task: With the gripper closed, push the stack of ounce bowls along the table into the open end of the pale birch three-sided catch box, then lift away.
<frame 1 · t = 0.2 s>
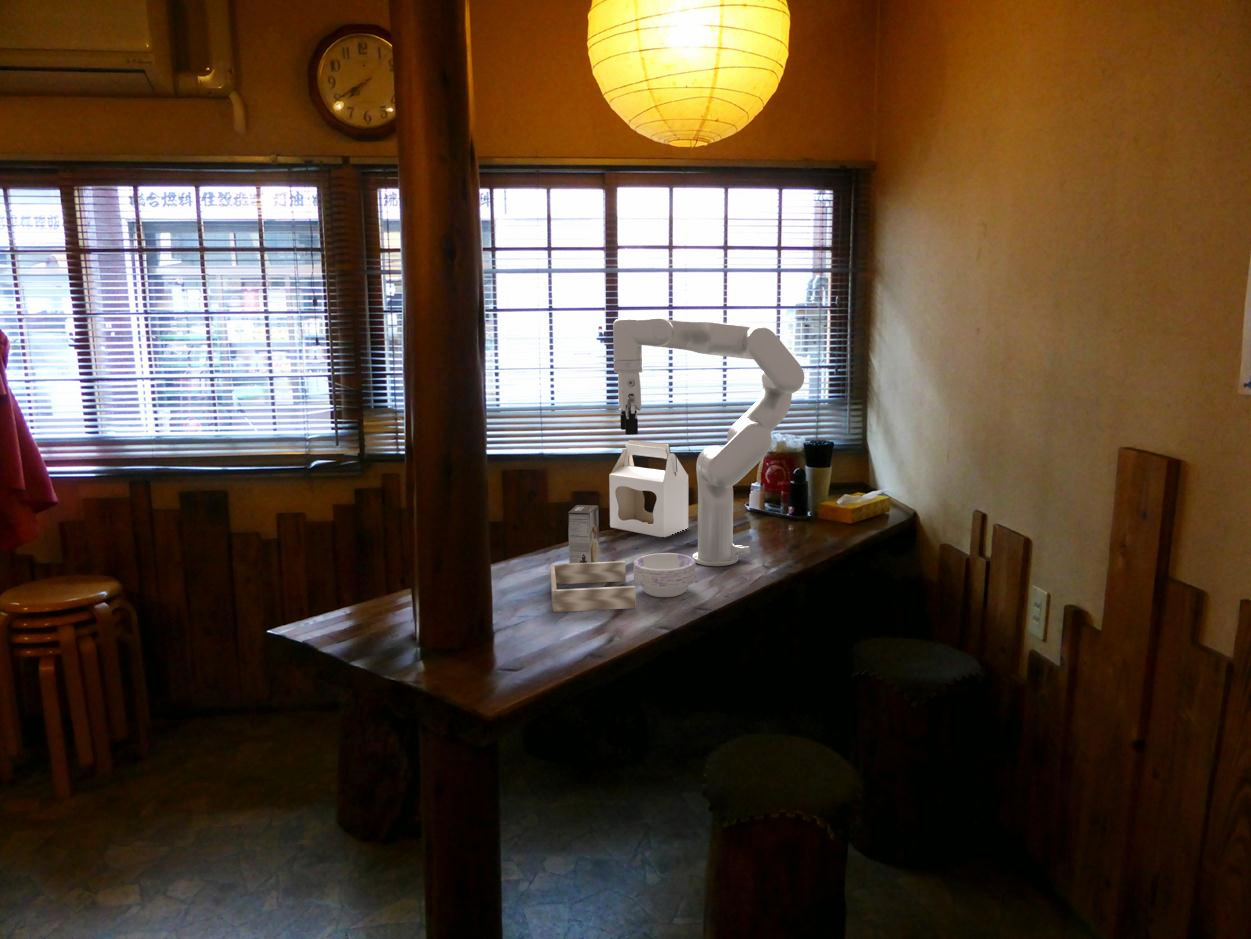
hand: (629, 431, 213), 36 cm above the table, tool pointing down, fingers open, 9 cm apart
catch box: (593, 595, 195), on the table
coffee box: (584, 566, 219), on the table
paper bowls: (664, 592, 197), on the table
gable box: (648, 529, 258), on the table
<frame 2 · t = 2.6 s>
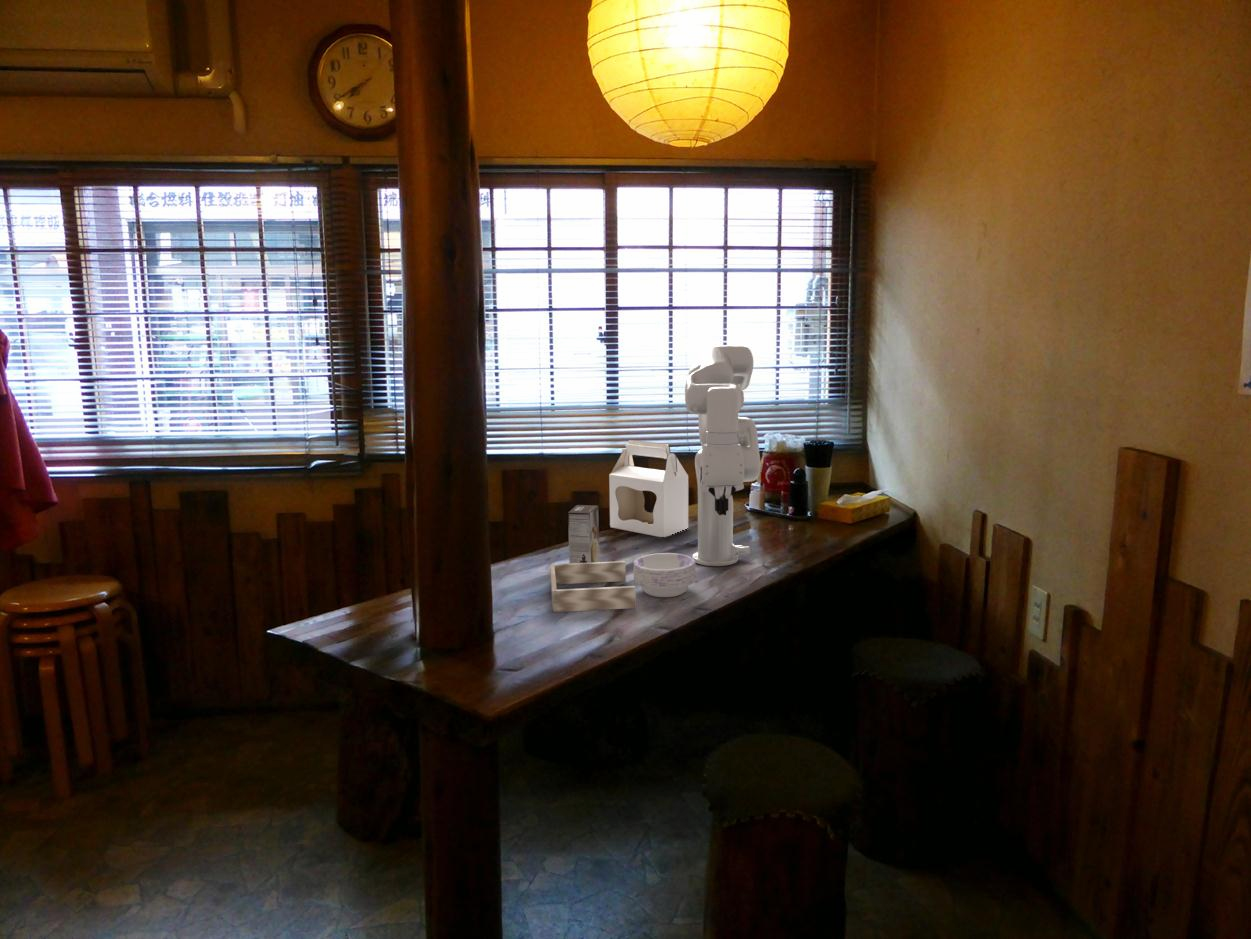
hand: (721, 513, 195), 19 cm above the table, tool pointing down, fingers closed
nothing on the table moved.
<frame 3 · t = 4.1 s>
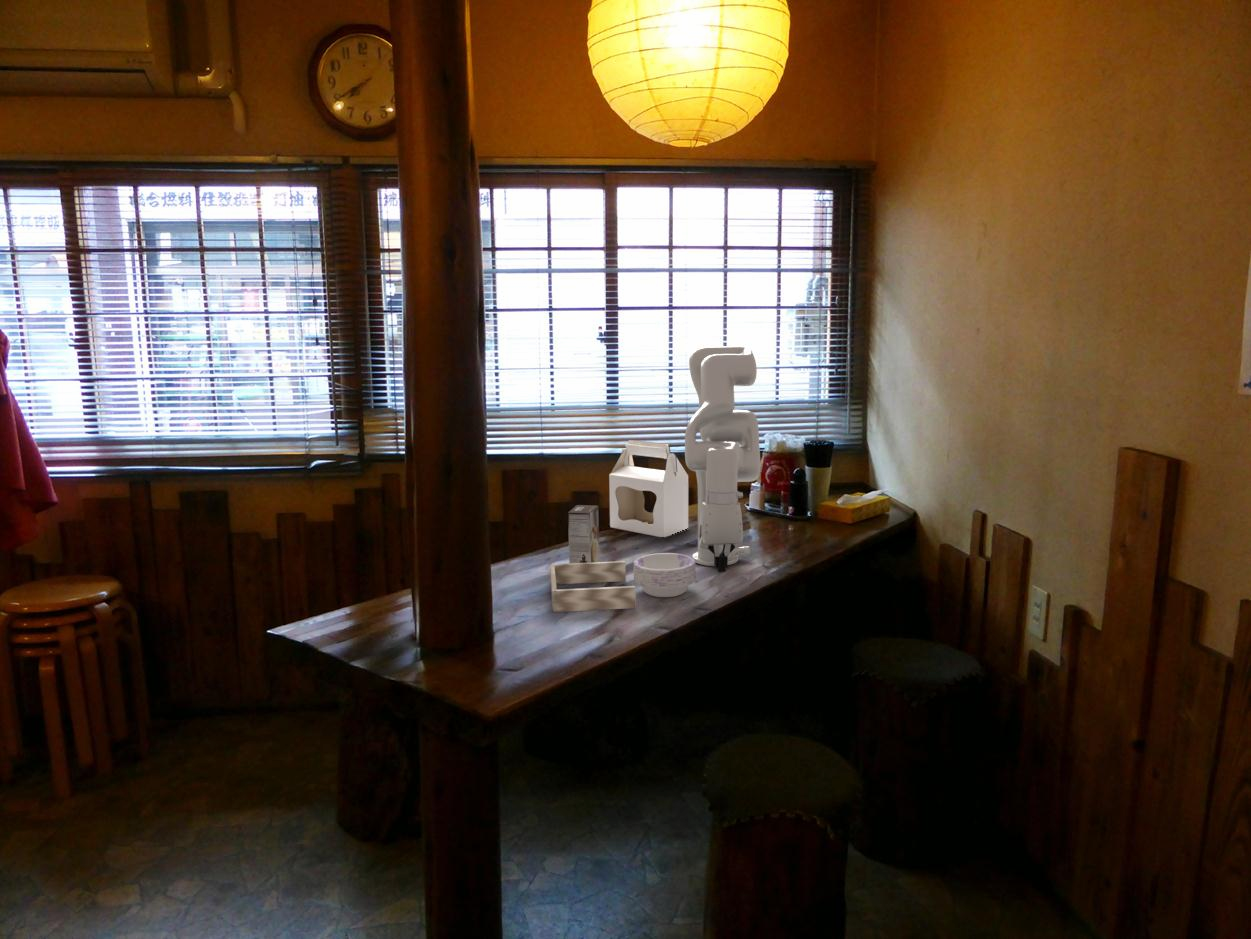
hand: (720, 570, 198), 5 cm above the table, tool pointing down, fingers closed
nothing on the table moved.
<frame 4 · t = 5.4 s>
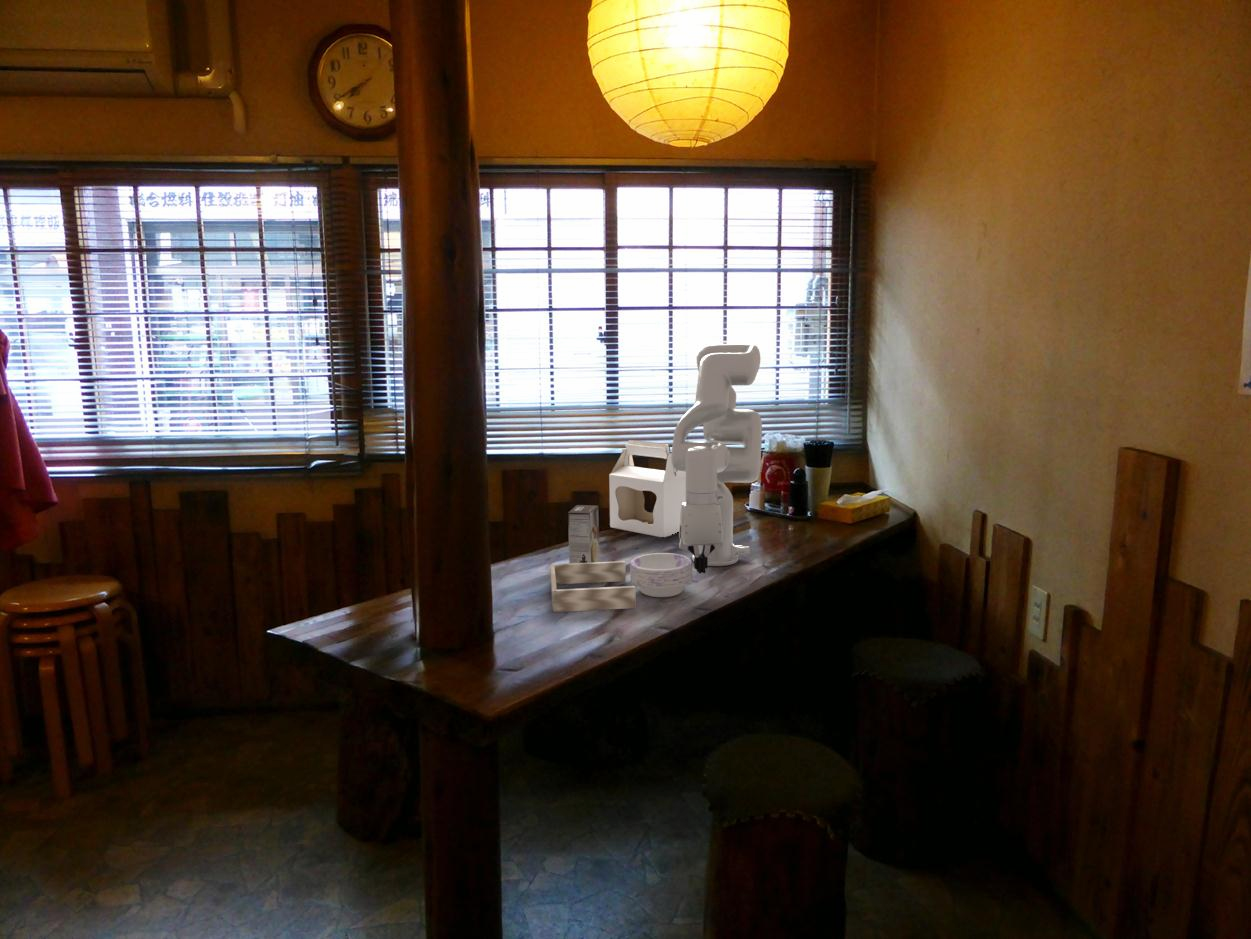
hand: (700, 571, 197), 5 cm above the table, tool pointing down, fingers closed
paper bowls: (661, 592, 197), on the table, touching gripper
everything else where it was.
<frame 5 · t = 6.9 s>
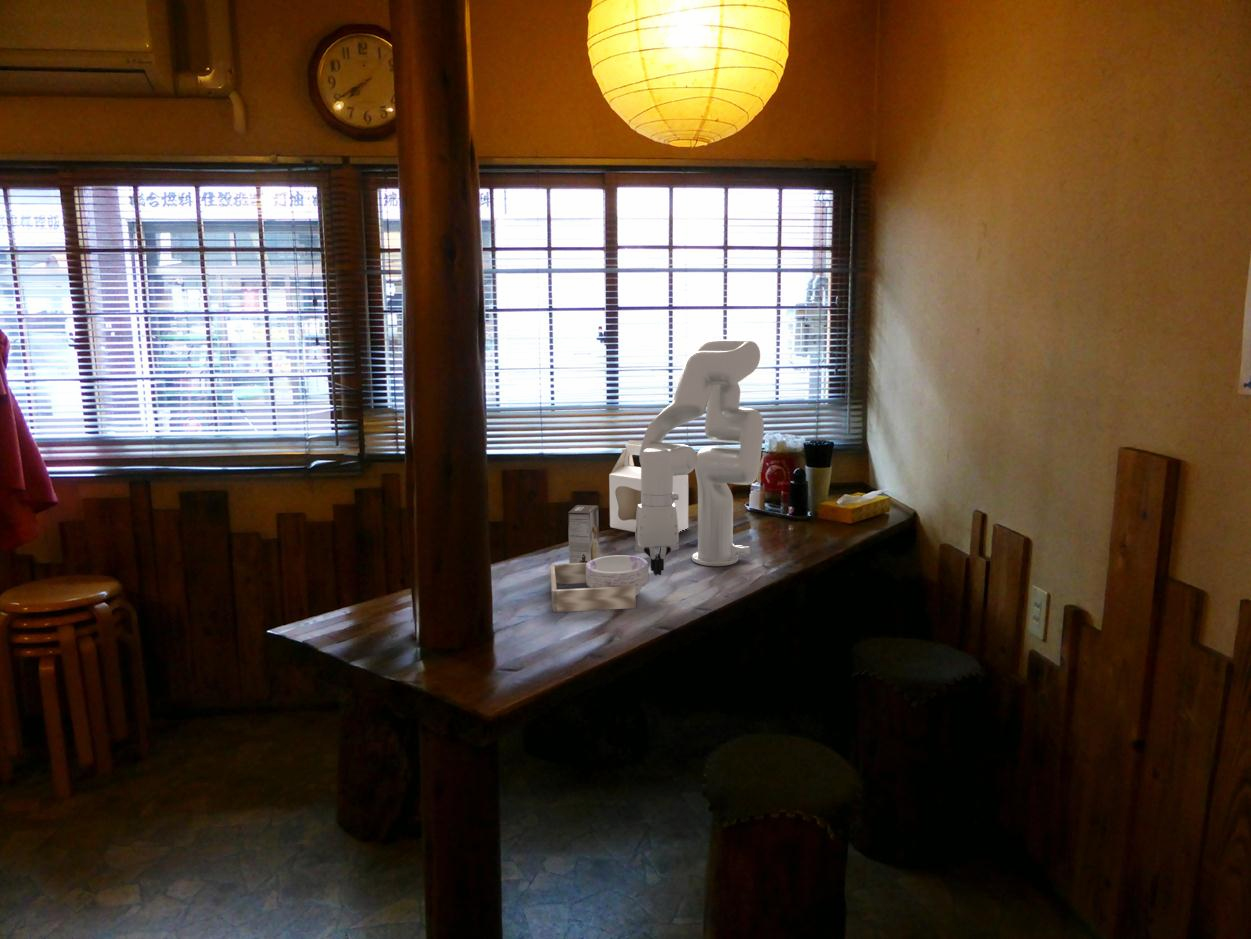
hand: (657, 573, 196), 5 cm above the table, tool pointing down, fingers closed
paper bowls: (617, 595, 195), on the table, touching gripper
everything else where it was.
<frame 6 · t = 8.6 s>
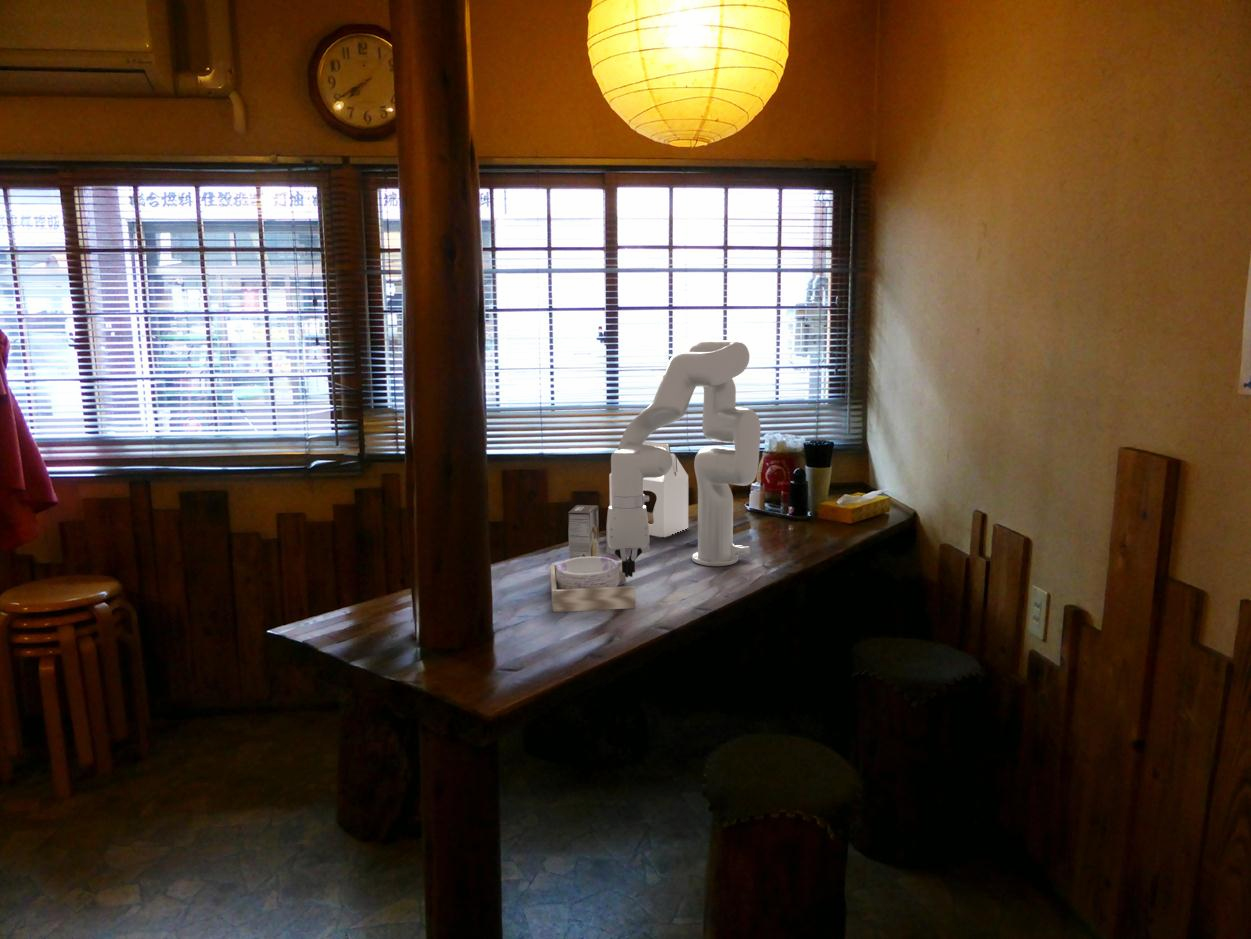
hand: (628, 575, 195), 5 cm above the table, tool pointing down, fingers closed
paper bowls: (588, 596, 195), on the table, touching gripper
everything else where it was.
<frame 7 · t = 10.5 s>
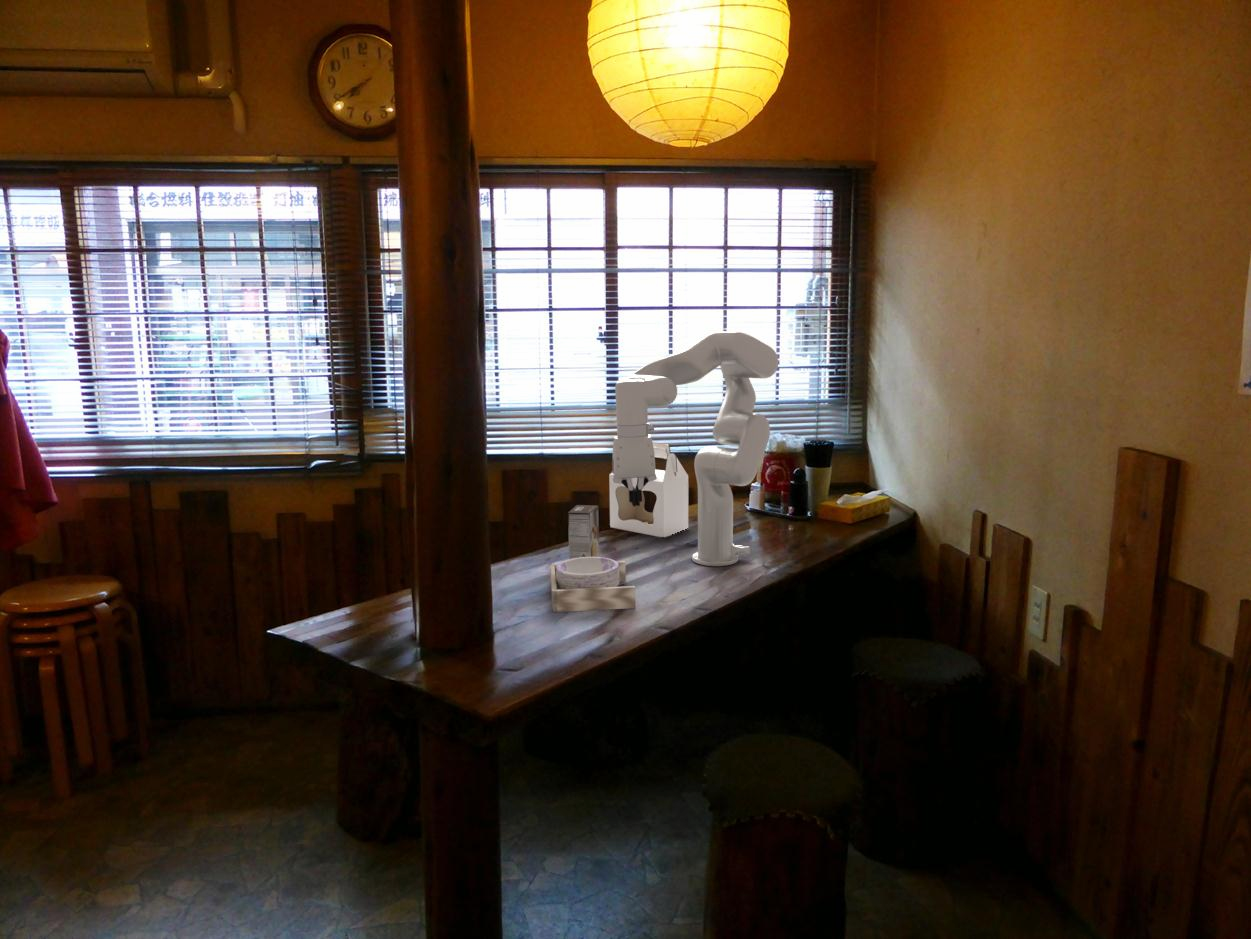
hand: (635, 504, 198), 21 cm above the table, tool pointing down, fingers closed
paper bowls: (588, 597, 195), on the table
everything else where it was.
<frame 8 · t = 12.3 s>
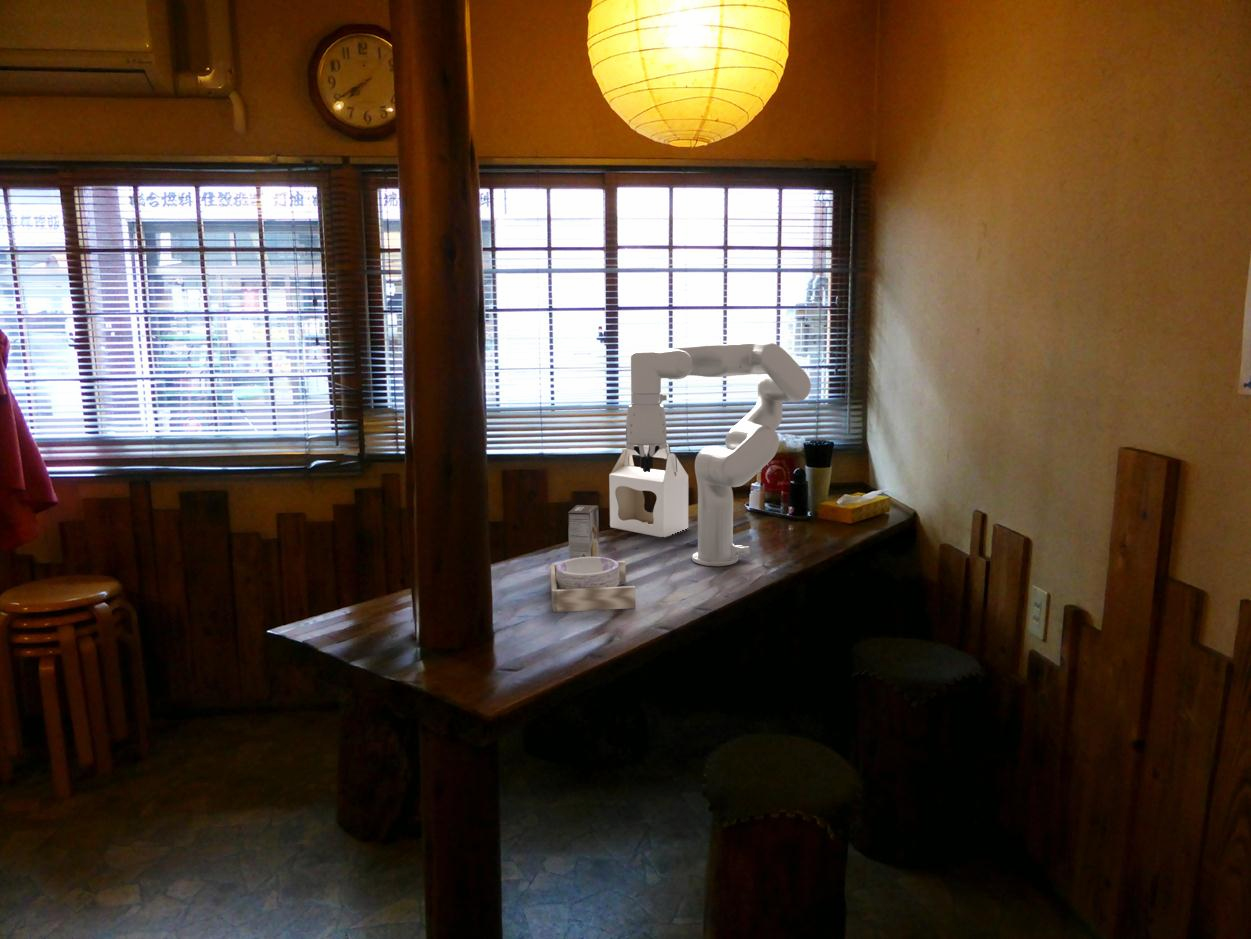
hand: (646, 471, 208), 27 cm above the table, tool pointing down, fingers closed
nothing on the table moved.
at the end: paper bowls inside the target area on the catch box (0.9 cm from its centre), point 0.0 cm above the catch box's base; paper bowls moved 18.8 cm from its start; the gripper is holding nothing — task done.
